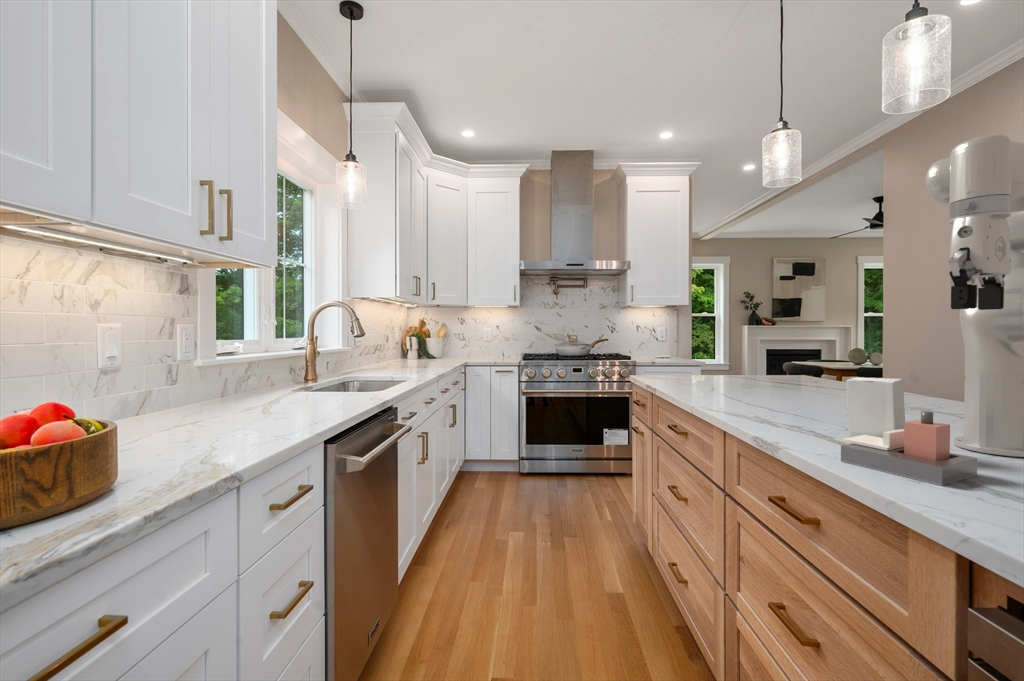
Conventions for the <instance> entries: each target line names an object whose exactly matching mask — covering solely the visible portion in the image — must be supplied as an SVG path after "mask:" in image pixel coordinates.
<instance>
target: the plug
mask: <svg viewBox="0 0 1024 681" xmlns="http://www.w3.org/2000/svg"><path fill="white" fill-rule="evenodd" d="M950 447H951V424H949V423H944V422H943V423H942V422H935V421H934V412H933V411H930V410H929V411H927V410H922V411H920V419H916V420H910V421H905V422H904V454H907V455H912V456H917V457H922V458H927V459H932V460H937V461H944V460H948V459H950V453H951V449H950Z"/></svg>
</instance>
